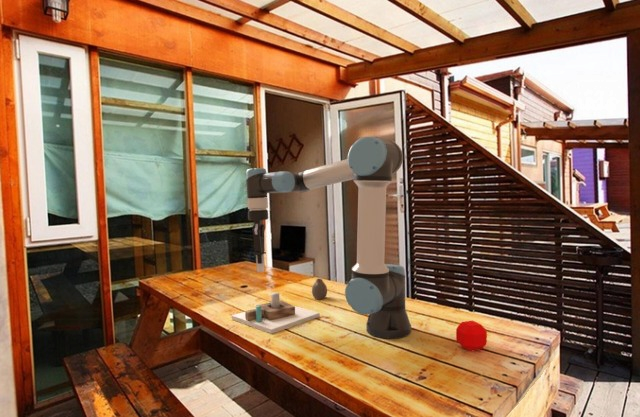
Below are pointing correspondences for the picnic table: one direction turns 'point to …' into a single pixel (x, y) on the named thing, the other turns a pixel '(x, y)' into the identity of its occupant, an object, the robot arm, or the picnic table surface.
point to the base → (278, 323)
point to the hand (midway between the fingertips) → (260, 271)
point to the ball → (471, 335)
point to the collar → (271, 311)
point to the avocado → (319, 289)
